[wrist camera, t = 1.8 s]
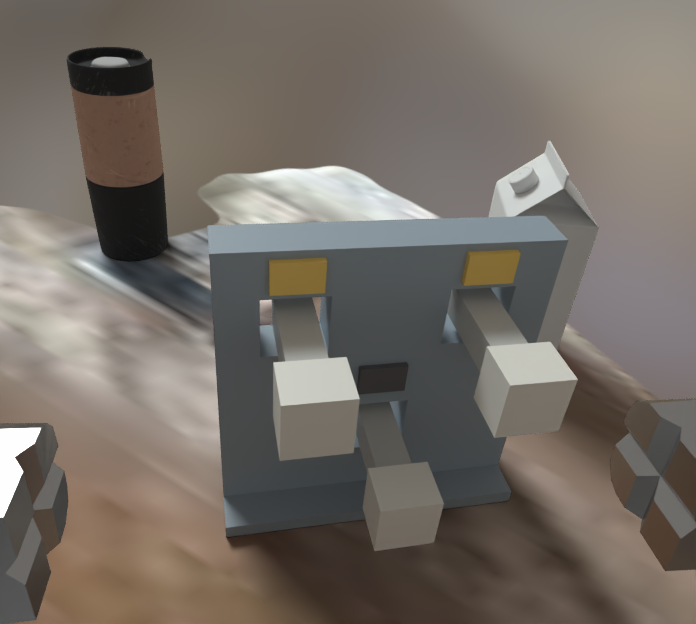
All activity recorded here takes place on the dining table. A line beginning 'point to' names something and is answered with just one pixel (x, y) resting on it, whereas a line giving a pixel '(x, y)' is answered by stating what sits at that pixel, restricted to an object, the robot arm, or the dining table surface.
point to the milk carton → (567, 216)
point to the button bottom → (395, 484)
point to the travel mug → (120, 149)
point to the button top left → (310, 387)
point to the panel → (368, 350)
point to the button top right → (510, 368)
